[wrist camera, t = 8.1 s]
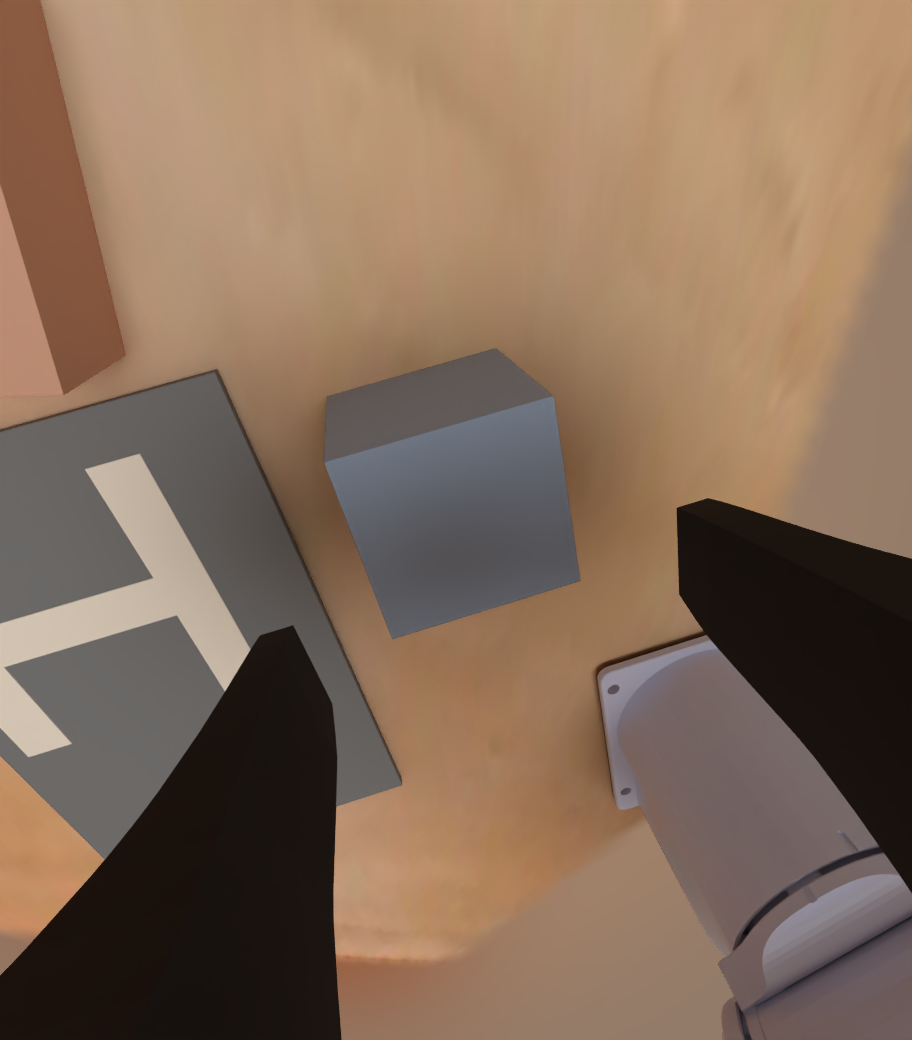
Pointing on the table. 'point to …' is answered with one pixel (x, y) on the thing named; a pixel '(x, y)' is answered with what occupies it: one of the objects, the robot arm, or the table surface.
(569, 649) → the table surface
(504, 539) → the blue cube
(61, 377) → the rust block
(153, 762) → the letter mat
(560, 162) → the table surface
